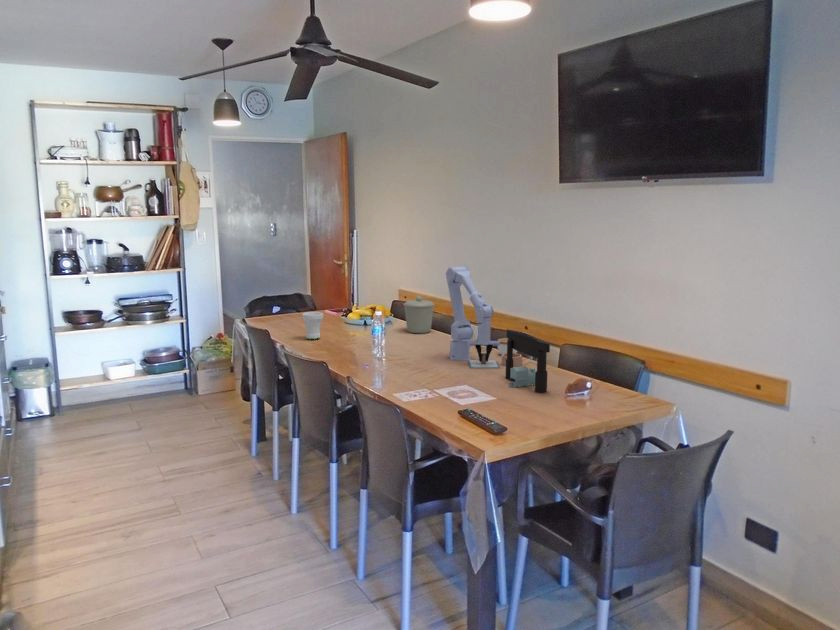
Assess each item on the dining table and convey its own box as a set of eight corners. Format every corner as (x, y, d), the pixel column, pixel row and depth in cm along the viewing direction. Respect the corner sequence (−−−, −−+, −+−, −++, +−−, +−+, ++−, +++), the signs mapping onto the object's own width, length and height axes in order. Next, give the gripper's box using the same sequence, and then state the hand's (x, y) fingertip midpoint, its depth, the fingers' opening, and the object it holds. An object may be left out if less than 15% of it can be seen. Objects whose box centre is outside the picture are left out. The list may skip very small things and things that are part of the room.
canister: (441, 331, 381) (441, 295, 378) (419, 336, 368) (419, 299, 365) (418, 327, 393) (418, 292, 390) (396, 332, 380) (396, 295, 377)
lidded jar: (518, 358, 316) (518, 339, 314) (495, 357, 318) (496, 338, 316) (519, 353, 326) (520, 335, 324) (497, 352, 328) (498, 334, 327)
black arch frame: (522, 325, 285) (566, 340, 255) (521, 373, 289) (564, 393, 258) (490, 328, 279) (531, 343, 249) (489, 376, 283) (530, 397, 253)
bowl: (503, 367, 299) (503, 357, 298) (500, 362, 308) (500, 353, 307) (522, 367, 299) (523, 357, 298) (519, 362, 308) (519, 353, 307)
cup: (306, 336, 367) (305, 311, 364) (326, 337, 365) (325, 312, 363) (300, 340, 356) (299, 315, 353) (320, 341, 354) (319, 315, 352)
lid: (471, 367, 296) (471, 356, 295) (469, 361, 308) (469, 350, 307) (498, 367, 296) (498, 356, 295) (495, 361, 308) (495, 350, 307)
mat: (469, 369, 295) (469, 368, 295) (467, 361, 309) (467, 361, 309) (500, 369, 295) (500, 368, 295) (496, 361, 309) (496, 361, 309)
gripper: (468, 333, 295) (468, 363, 298) (501, 333, 296) (500, 363, 298) (467, 330, 302) (467, 359, 305) (499, 330, 303) (498, 359, 305)
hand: (483, 361), depth 302 cm, fingers closed on lid, 2 cm apart
